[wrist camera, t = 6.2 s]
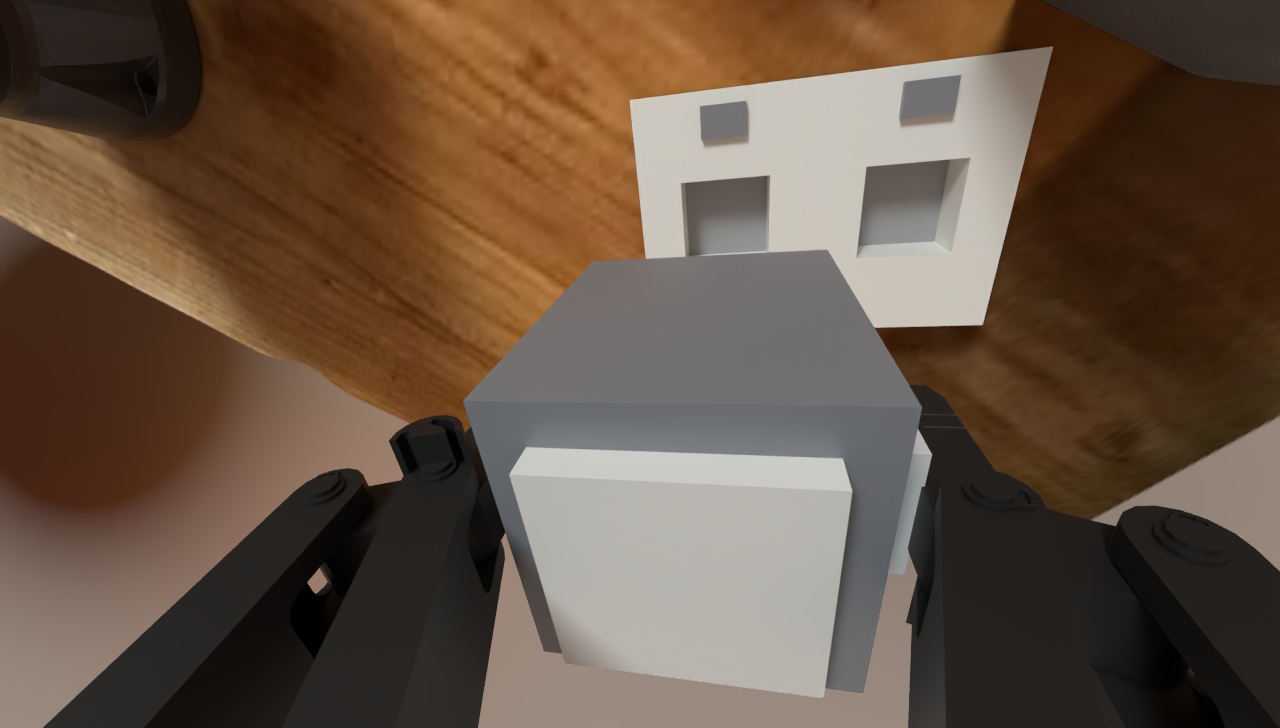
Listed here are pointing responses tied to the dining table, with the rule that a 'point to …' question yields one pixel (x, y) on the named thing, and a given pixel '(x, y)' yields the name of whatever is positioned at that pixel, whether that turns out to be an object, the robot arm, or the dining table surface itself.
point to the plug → (703, 469)
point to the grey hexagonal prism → (1194, 33)
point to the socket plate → (851, 176)
